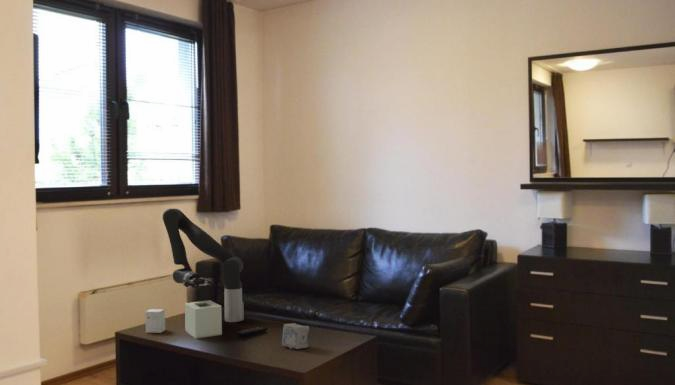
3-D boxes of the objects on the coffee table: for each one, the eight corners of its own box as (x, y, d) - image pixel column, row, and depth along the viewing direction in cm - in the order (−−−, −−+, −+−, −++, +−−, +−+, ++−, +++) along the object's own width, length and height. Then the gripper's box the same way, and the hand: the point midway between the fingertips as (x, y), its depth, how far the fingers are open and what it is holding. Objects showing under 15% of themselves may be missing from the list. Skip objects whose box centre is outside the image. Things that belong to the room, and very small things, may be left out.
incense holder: (310, 347, 270) (309, 324, 269) (297, 351, 263) (297, 328, 263) (293, 343, 276) (293, 321, 276) (281, 347, 269) (281, 324, 269)
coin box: (210, 327, 305) (210, 300, 305) (221, 334, 291) (221, 306, 291) (185, 331, 298) (184, 303, 298) (195, 338, 285) (195, 309, 284)
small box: (165, 330, 301) (165, 309, 301) (161, 333, 295) (160, 311, 295) (150, 329, 302) (149, 308, 301) (145, 332, 296) (145, 311, 296)
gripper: (178, 273, 303) (188, 278, 289) (206, 271, 311) (217, 275, 297) (179, 288, 304) (189, 293, 290) (206, 285, 311) (217, 290, 297)
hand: (203, 284), depth 293 cm, fingers open, 8 cm apart
